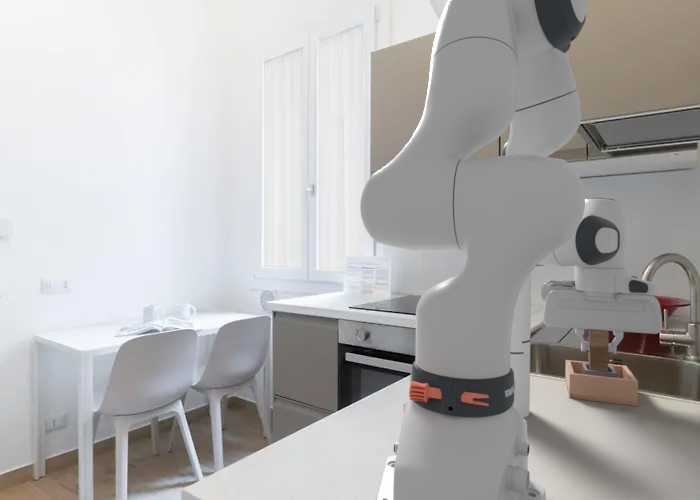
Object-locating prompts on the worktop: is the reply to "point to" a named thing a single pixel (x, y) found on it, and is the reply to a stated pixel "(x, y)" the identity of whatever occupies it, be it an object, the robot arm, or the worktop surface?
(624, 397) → the pink planter box
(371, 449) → the worktop surface
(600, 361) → the tall wooden post
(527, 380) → the cylindrical container
